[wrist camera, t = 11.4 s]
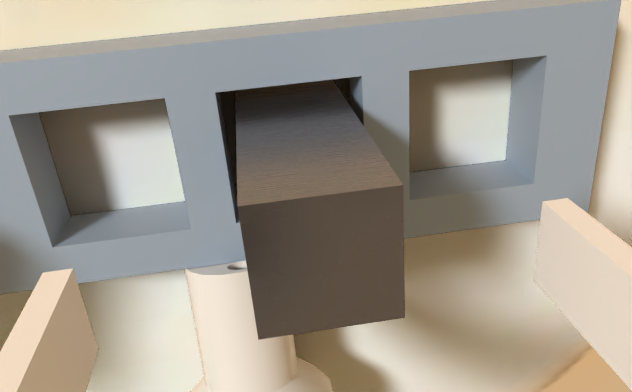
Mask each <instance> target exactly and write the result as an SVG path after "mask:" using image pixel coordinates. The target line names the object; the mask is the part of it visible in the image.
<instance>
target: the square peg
mask: <svg viewBox="0 0 632 392" xmlns="http://www.w3.org/2000/svg"><path fill="white" fill-rule="evenodd" d="M235 103H236V157H237V207H238V213H239V220H240V226H241V232H242V239H243V245H244V251H245V258H246V264H247V271H248V277H249V283H250V290H251V296H252V302H253V309H254V315H255V321H256V328H257V334H258V340H260V339H267V338H273V337H280V336H287V335H293V334H300V333H306V332H313V331H320V330H326V329H333V328H339V327H346V326H353V325H359V324H366V323H372V322H379V321H386V320H392V319H399V318H405V300H404V197H403V184H402V182H401V181H400V179H399V178H398V176H397V175H396V173H395V172H394V170H393V169H392V167H391V166H390V164H389V163H388V161H387V160H386V158H385V157H384V155H383V154H382V152H381V151H380V149H379V148H378V147H377V145H376V144H375V142H374V141H373V139H372V138H371V136H370V135H369V133H368V132H367V130H366V129H365V127H364V126H363V124H362V123H361V121H360V120H359V118H358V117H357V115H356V114H355V112H354V111H353V109H352V108H351V106H350V105H349V104H348V102H347V101H346V99H345V98H344V96H343V95H342V93H341V92H340V90H339V89H338V87H337V86H336V84H335V83H334V81H333V80H323V81H314V82H305V83H296V84H287V85H278V86H269V87H260V88H251V89H242V90H235Z"/></svg>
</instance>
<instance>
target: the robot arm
mask: <svg viewBox="0 0 632 392" xmlns="http://www.w3.org/2000/svg"><path fill="white" fill-rule="evenodd" d="M534 282H535V283H536V284H537V286H538V287H539V288H540V289H541V290H542V291H543V292H544V293H545V294H546V296H547V297H548V298H549V299H550V300H551V301H552V302H553V303H554V305H555V306H556V307H557V308H558V309H559V310H560V311H561V312H562V314H563V315H564V316H565V317H566V318H567V319H568V320H569V321H570V323H571V324H572V325H573V326H574V327H575V328H576V329H577V330H578V331H579V333H580V334H581V335H582V336H583V337H584V338H585V339H586V340H587V342H588V343H589V344H590V345H591V346H592V347H593V348H594V349H595V350H596V352H597V353H598V354H599V355H600V356H601V357H602V358H603V359H604V361H605V362H606V363H607V364H608V365H609V366H610V367H611V368H612V370H613V371H614V372H615V373H616V374H617V375H618V376H619V377H620V378H621V380H622V381H623V382H624V383H625V384H626V385H627V386H628V388H629V389H630V390H631V391H632V247H631V246H629V245H628V244H627V243H626V242H624V241H623V240H622V239H620V238H619V237H618V236H616V235H615V234H614V233H612V232H611V231H610V230H609V229H607V228H606V227H605V226H603V225H602V224H601V223H599V222H598V221H597V220H596V219H594V218H593V217H592V216H590V215H589V214H588V213H586V212H585V211H584V210H583V209H581V208H580V207H579V206H577V205H576V204H575V203H573V202H572V201H571V200H569V199H568V198H564V199H557V200H550V201H543V202H542V210H541V219H540V228H539V237H538V246H537V255H536V264H535V274H534ZM98 350H99V349H98V346H97V343H96V340H95V337H94V333H93V330H92V327H91V324H90V321H89V318H88V315H87V311H86V308H85V305H84V302H83V299H82V296H81V293H80V289H79V286H78V283H77V280H76V277H75V274H74V271H73V268H72V269H65V270H58V271H51V272H44V273H42V275H41V277H40V279H39V281H38V283H37V284H36V286H35V288H34V290H33V292H32V294H31V296H30V297H29V299H28V301H27V303H26V305H25V307H24V309H23V310H22V312H21V314H20V316H19V318H18V320H17V322H16V323H15V325H14V327H13V329H12V331H11V333H10V335H9V336H8V338H7V340H6V342H5V344H4V346H3V347H2V349H1V351H0V392H86V389H87V386H88V383H89V380H90V376H91V373H92V370H93V366H94V363H95V360H96V357H97V353H98Z"/></svg>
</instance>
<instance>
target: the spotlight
mask: <svg viewBox="0 0 632 392" xmlns="http://www.w3.org/2000/svg"><path fill="white" fill-rule="evenodd" d="M185 274H186V280H187V285H188V291H189V296H190V302H191V308H192V313H193V319H194V324H195V330H196V335H197V341H198V346H199V352H200V357H201V363H202V368H203V374H204V377H203V378H202V379H201V380H200V381H199V382H198V383H197V384H196V385H195V386H194V388H193V389H192V390H191V391H190V392H333V389H332V385H331V381H330V378H329V377H327V376H326V375H325V374H324V373H323V372H322V371H321V370H320V369H319V368H317V367H316V366H315V365H313V364H311V363H309V362H306V361H304V360H302V359H300V358H298V357H296V350H295V343H294V335H287V336H280V337H273V338H267V339H260V340H258V334H257V328H256V321H255V315H254V309H253V302H252V296H251V290H250V283H249V277H248V271H247V264H246V260H245V261H238V262H231V263H223V264H216V265H209V266H202V267H195V268H187V269H185Z"/></svg>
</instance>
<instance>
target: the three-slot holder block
mask: <svg viewBox="0 0 632 392" xmlns="http://www.w3.org/2000/svg"><path fill="white" fill-rule="evenodd" d="M620 5H621V0H495V1H485V2H475V3H465V4H455V5H445V6H436V7H426V8H416V9H406V10H396V11H386V12H377V13H367V14H357V15H347V16H337V17H327V18H318V19H308V20H298V21H288V22H278V23H268V24H259V25H249V26H239V27H229V28H219V29H210V30H200V31H190V32H180V33H170V34H160V35H151V36H141V37H131V38H121V39H111V40H101V41H92V42H82V43H72V44H62V45H52V46H42V47H33V48H23V49H13V50H3V51H0V294H7V293H14V292H22V291H29V290H34V288H35V286H36V284H37V283H38V281H39V279H40V277H41V275H42V273H44V272H51V271H58V270H65V269H72V268H73V271H74V274H75V277H76V280H77V283H78V284H79V283H87V282H94V281H101V280H108V279H115V278H123V277H130V276H137V275H144V274H151V273H159V272H166V271H173V270H180V269H187V268H195V267H202V266H209V265H216V264H223V263H231V262H238V261H245V260H246V258H245V251H244V245H243V239H242V232H241V226H240V220H239V213H238V207H237V195H236V193H235V187H234V181H233V174H232V168H231V162H230V155H229V149H228V142H227V136H226V130H225V123H224V117H223V111H222V104H221V98H220V92H224V91H233V90H242V89H251V88H260V87H269V86H278V85H287V84H296V83H305V82H314V81H323V80H332V79H341V78H349V87H350V106H351V108H352V109H353V111H354V112H355V114H356V115H357V117H358V118H359V120H360V121H361V123H362V124H363V126H364V127H365V129H366V130H367V132H368V133H369V135H370V136H371V138H372V139H373V141H374V142H375V144H376V145H377V147H378V148H379V149H380V151H381V152H382V154H383V155H384V157H385V158H386V160H387V161H388V163H389V164H390V166H391V167H392V169H393V170H394V172H395V173H396V175H397V176H398V178H399V179H400V181H401V182H402V184H403V197H404V238H411V237H418V236H425V235H432V234H440V233H447V232H454V231H461V230H468V229H476V228H483V227H490V226H497V225H504V224H512V223H519V222H526V221H533V220H540V219H541V210H542V202H543V201H550V200H557V199H564V198H568V199H569V200H571V201H572V202H573V203H575V204H576V205H577V206H579V207H580V208H581V209H583V210H584V211H585V212H586V213H588V211H589V205H590V198H591V192H592V185H593V179H594V172H595V166H596V160H597V153H598V147H599V140H600V134H601V127H602V121H603V114H604V108H605V102H606V95H607V89H608V82H609V76H610V69H611V63H612V57H613V50H614V44H615V37H616V31H617V24H618V18H619V11H620ZM511 59H514V61H513V73H512V86H511V99H510V112H509V125H508V138H507V150H506V160H504V161H496V162H488V163H480V164H472V165H465V166H457V167H449V168H441V169H433V170H426V171H418V172H410V150H409V71H412V70H421V69H430V68H439V67H448V66H457V65H466V64H475V63H484V62H493V61H502V60H511ZM162 98H165V102H166V107H167V112H168V117H169V122H170V127H171V132H172V137H173V142H174V147H175V152H176V157H177V162H178V167H179V172H180V176H181V181H182V186H183V191H184V196H185V201H184V202H176V203H168V204H160V205H153V206H145V207H137V208H129V209H121V210H114V211H106V212H98V213H90V214H82V215H75V216H70V213H69V210H68V207H67V203H66V200H65V197H64V194H63V191H62V187H61V184H60V181H59V178H58V174H57V171H56V168H55V165H54V161H53V158H52V155H51V152H50V148H49V145H48V142H47V139H46V135H45V132H44V129H43V126H42V122H41V119H40V116H39V113H38V112H45V111H54V110H63V109H72V108H81V107H90V106H99V105H108V104H117V103H126V102H135V101H144V100H153V99H162Z"/></svg>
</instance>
